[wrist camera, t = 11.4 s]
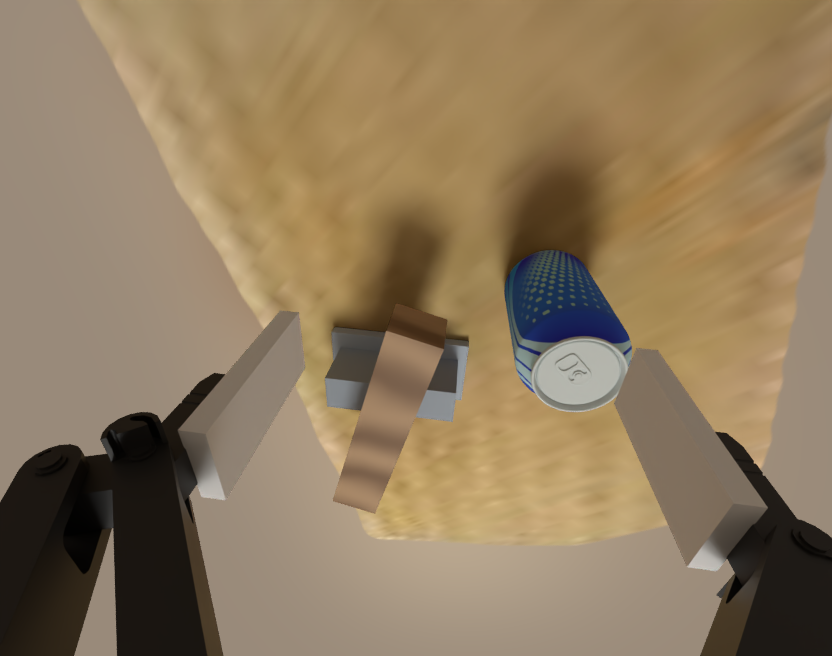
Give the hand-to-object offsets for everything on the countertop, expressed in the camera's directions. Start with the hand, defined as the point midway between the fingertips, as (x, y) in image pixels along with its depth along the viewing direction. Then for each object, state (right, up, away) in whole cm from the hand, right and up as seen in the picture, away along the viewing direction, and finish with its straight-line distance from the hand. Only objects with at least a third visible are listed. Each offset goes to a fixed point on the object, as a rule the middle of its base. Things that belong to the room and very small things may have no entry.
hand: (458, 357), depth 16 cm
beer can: (+12, +6, +26) cm, 29 cm away
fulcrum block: (-4, -3, +33) cm, 34 cm away
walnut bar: (-5, -7, +27) cm, 29 cm away
